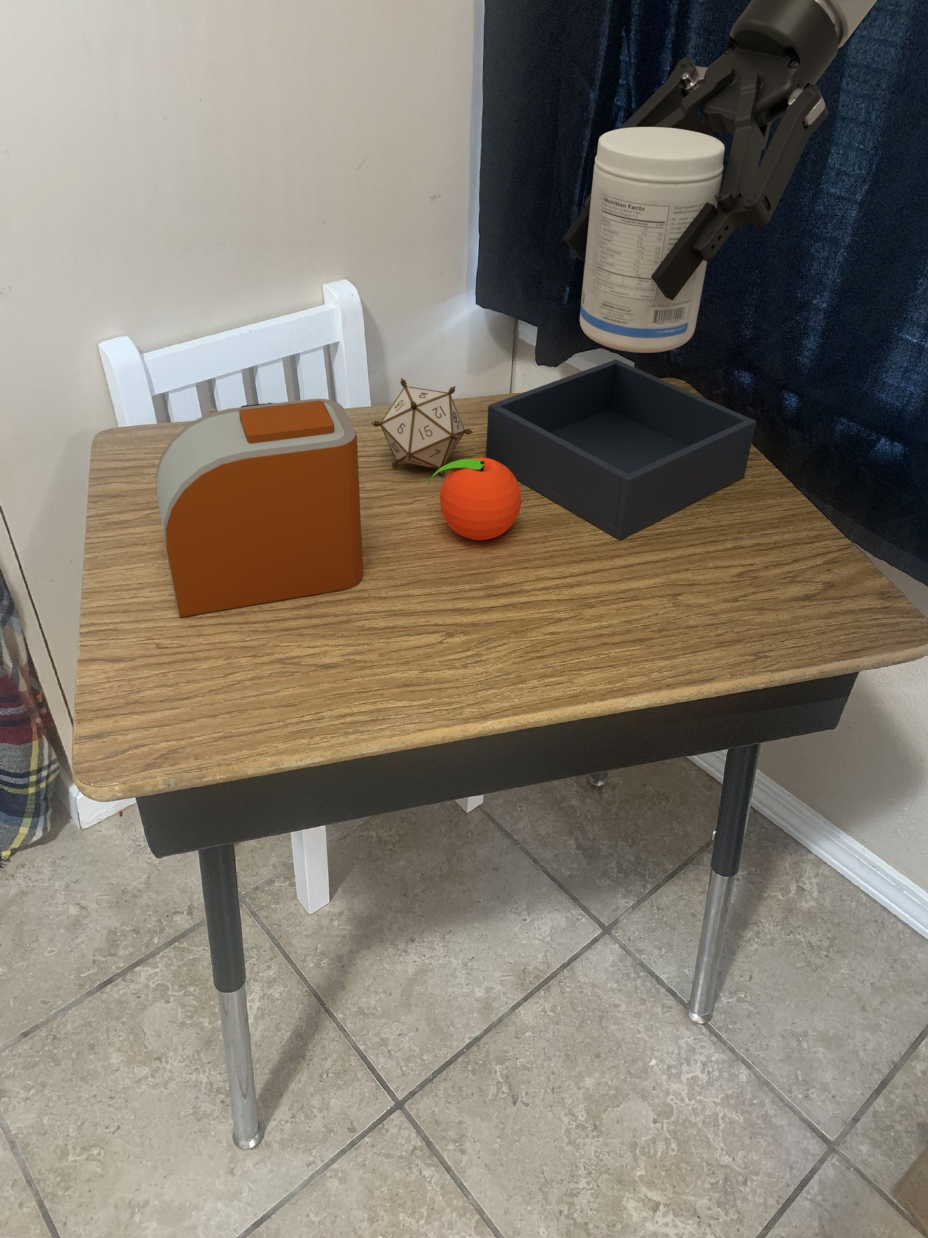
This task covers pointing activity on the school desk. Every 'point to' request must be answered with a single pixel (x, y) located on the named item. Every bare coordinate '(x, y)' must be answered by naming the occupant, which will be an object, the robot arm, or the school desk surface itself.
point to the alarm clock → (261, 505)
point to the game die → (422, 427)
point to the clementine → (479, 498)
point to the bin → (619, 445)
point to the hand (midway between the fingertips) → (615, 268)
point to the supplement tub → (645, 234)
